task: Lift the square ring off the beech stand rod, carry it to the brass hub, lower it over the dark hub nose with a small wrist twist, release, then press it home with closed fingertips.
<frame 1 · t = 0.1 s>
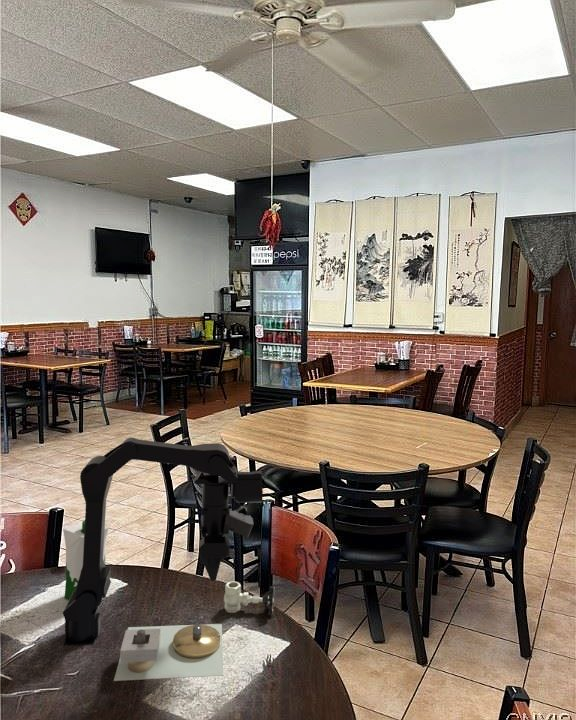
hand: (213, 570, 123), 15 cm above the table, fingers open, 9 cm apart
square ring: (141, 650, 112), point 3 cm above the table, touching stand
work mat: (172, 651, 117), on the table
milk carton: (85, 598, 137), on the table
hub: (196, 644, 119), resting on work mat
valve: (248, 612, 134), on the table
stand: (140, 664, 112), resting on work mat
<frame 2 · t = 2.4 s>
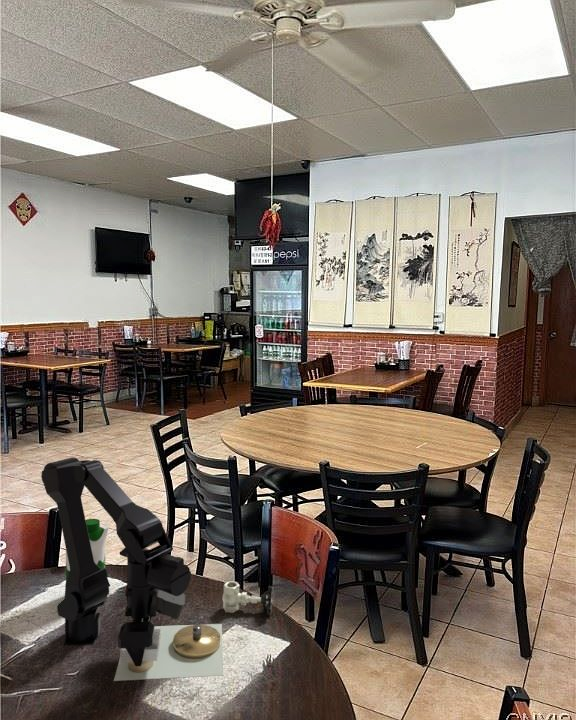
hand: (140, 654, 112), 3 cm above the table, fingers closed on square ring, 7 cm apart
square ring: (141, 650, 112), point 3 cm above the table, touching gripper, stand
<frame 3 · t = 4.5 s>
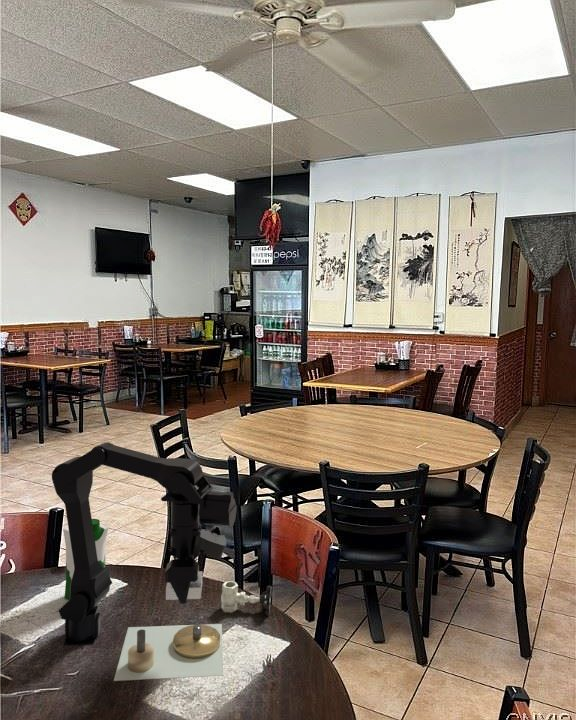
hand: (184, 594, 116), 13 cm above the table, fingers closed on square ring, 7 cm apart
square ring: (184, 590, 116), point 14 cm above the table, touching gripper
when the fingers open (2 cm above the table, at t = 6.8 s): square ring drops 1 cm, resting on hub.
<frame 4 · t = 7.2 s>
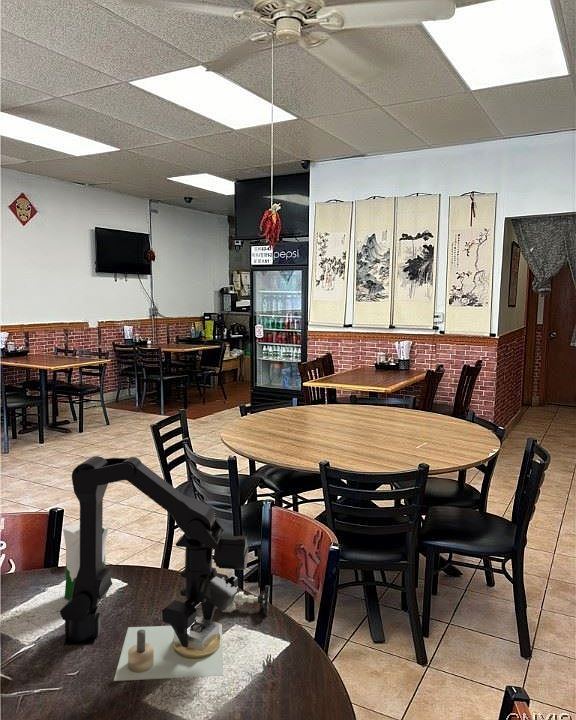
hand: (196, 635, 119), 2 cm above the table, fingers open, 9 cm apart
square ring: (196, 637, 119), point 2 cm above the table, touching hub
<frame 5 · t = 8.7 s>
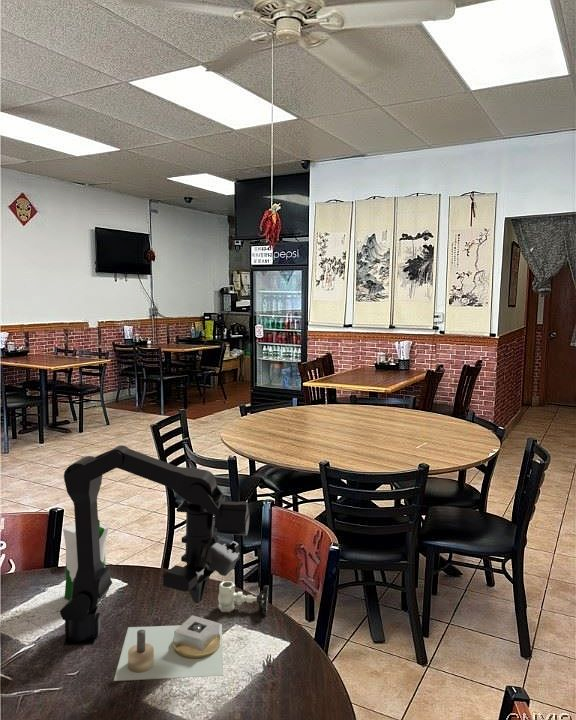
hand: (197, 602, 118), 10 cm above the table, fingers closed
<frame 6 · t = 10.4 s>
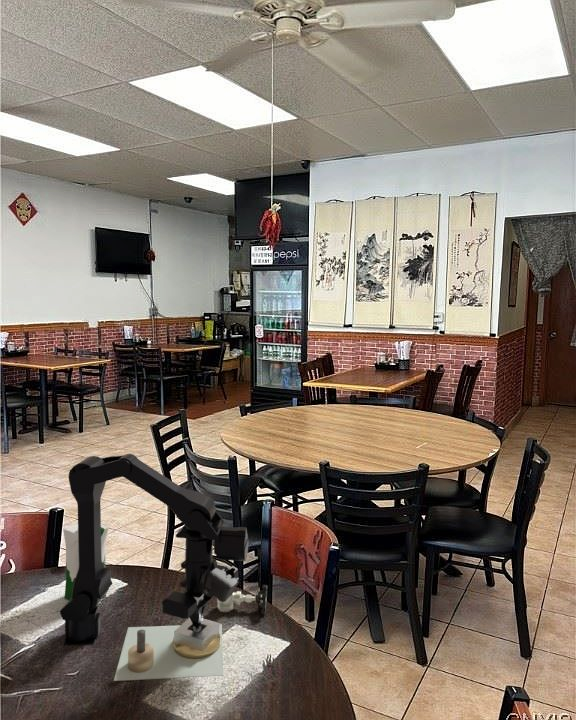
hand: (197, 626, 119), 4 cm above the table, fingers closed
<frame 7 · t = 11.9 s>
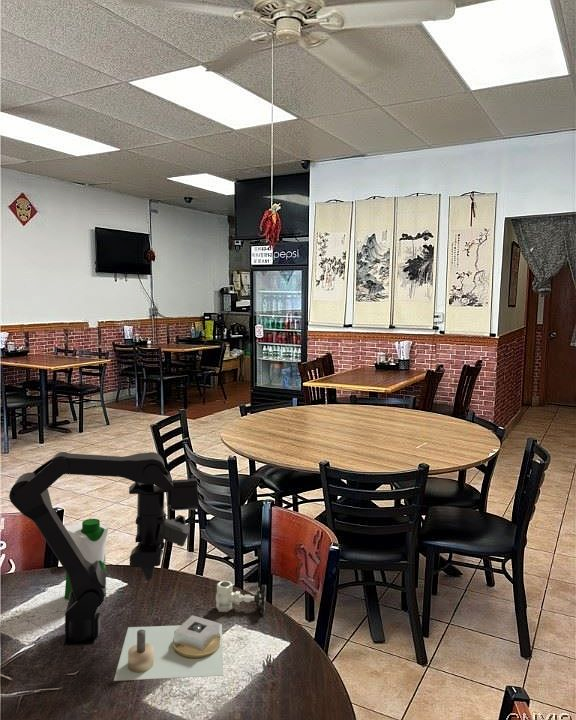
hand: (149, 578, 124), 12 cm above the table, fingers closed
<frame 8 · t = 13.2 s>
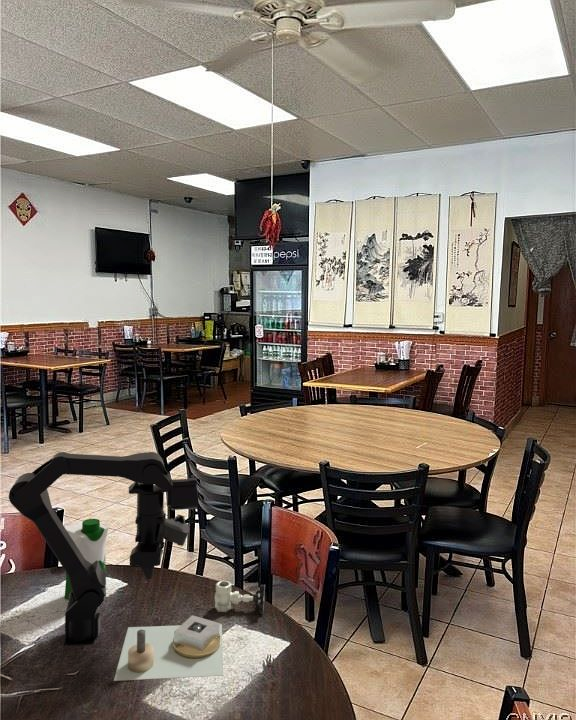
hand: (149, 578, 124), 12 cm above the table, fingers closed
at the end: square ring 0.0 cm off-centre on the hub, point 1.5 cm above the hub's base; square ring tilted 0°; the gripper is holding nothing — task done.
